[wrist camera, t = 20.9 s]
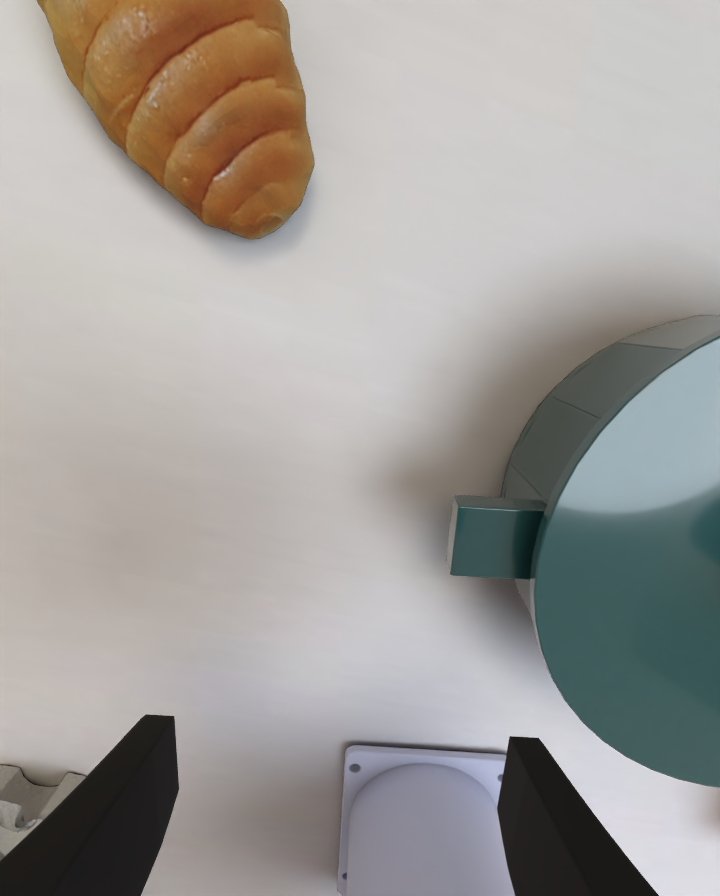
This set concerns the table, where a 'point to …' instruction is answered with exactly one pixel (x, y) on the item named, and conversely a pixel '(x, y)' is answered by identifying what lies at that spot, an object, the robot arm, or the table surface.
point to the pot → (554, 453)
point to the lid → (641, 571)
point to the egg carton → (27, 804)
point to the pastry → (196, 100)
